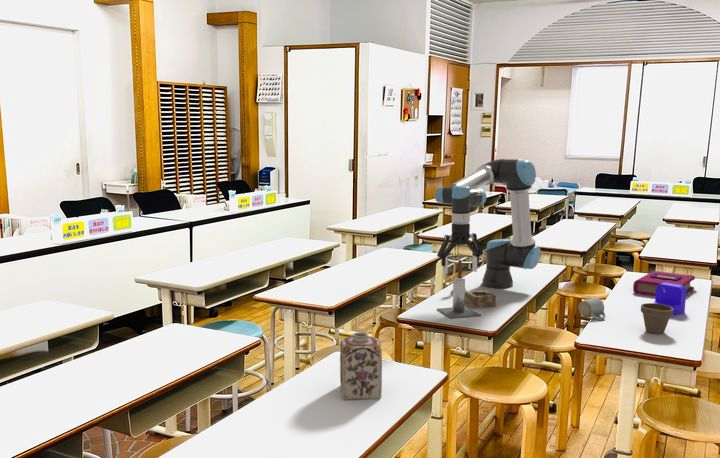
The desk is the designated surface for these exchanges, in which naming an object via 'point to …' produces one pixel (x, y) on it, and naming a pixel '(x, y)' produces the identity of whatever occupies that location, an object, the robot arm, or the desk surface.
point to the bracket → (671, 297)
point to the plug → (459, 295)
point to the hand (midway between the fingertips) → (460, 272)
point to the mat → (451, 314)
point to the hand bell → (459, 271)
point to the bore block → (480, 299)
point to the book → (655, 278)
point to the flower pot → (656, 317)
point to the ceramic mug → (592, 308)
